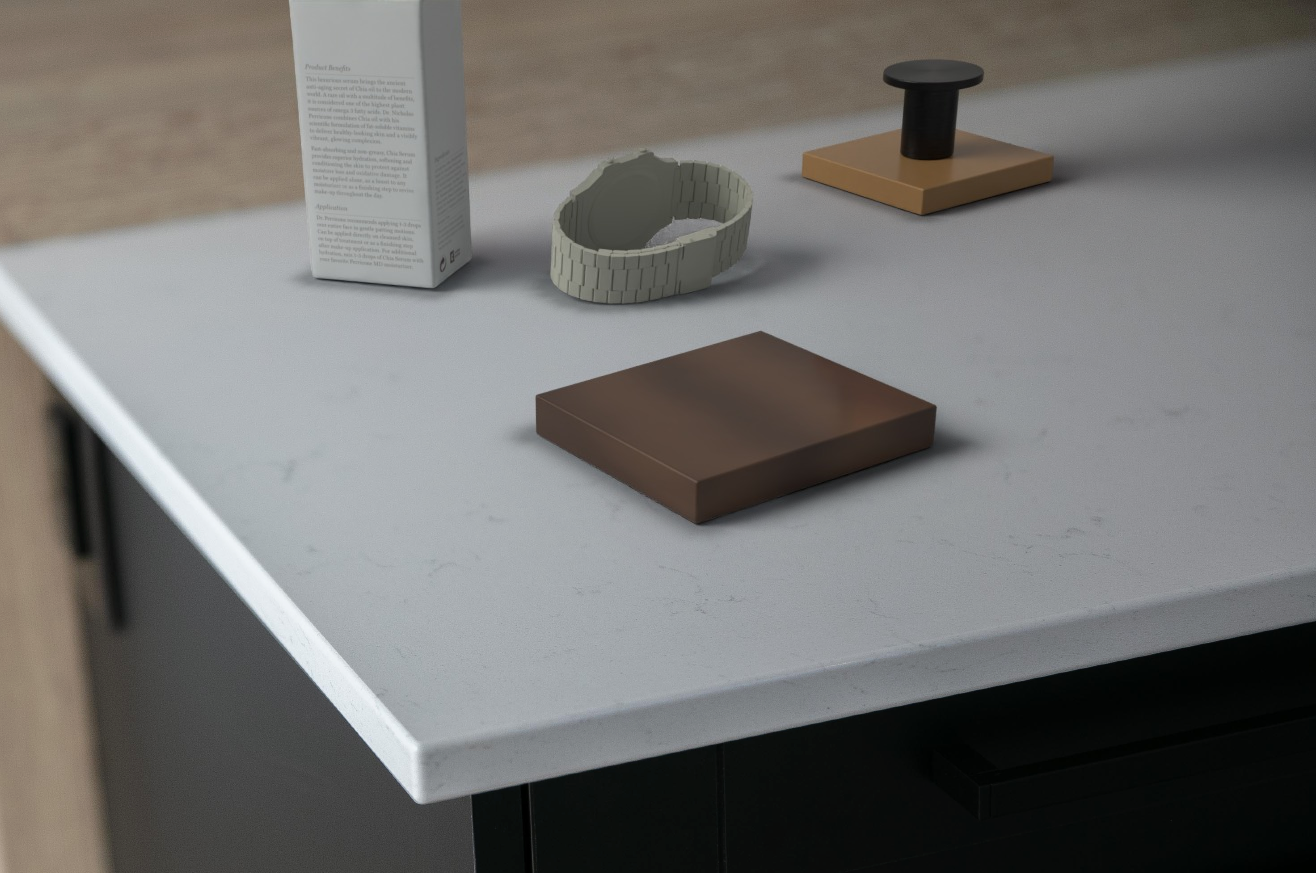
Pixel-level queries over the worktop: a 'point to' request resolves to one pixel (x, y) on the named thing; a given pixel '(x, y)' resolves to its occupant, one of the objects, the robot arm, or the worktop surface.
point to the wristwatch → (648, 228)
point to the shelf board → (733, 424)
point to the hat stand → (928, 149)
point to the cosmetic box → (383, 138)
